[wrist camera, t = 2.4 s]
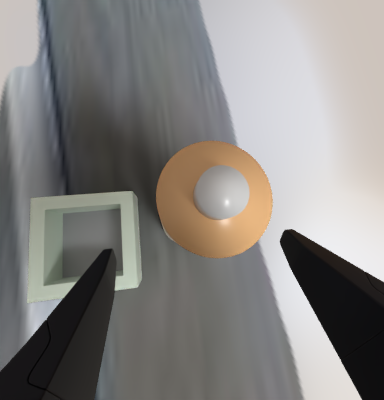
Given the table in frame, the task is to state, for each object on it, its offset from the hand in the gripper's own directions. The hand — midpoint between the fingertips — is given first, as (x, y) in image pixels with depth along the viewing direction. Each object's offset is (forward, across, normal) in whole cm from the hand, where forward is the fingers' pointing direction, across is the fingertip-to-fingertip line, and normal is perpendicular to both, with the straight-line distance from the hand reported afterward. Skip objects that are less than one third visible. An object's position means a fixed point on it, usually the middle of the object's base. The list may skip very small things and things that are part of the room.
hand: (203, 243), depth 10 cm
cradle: (+7, +8, +6) cm, 12 cm away
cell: (+8, 0, +5) cm, 9 cm away
